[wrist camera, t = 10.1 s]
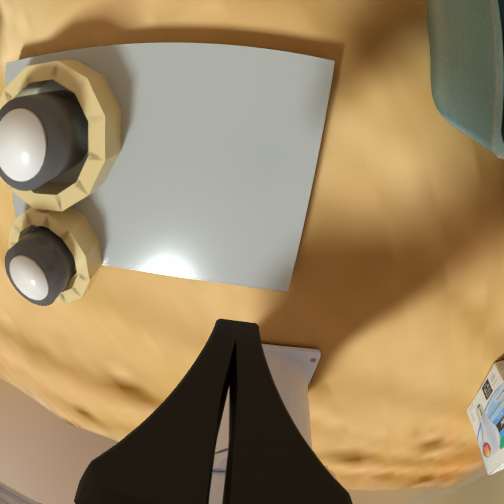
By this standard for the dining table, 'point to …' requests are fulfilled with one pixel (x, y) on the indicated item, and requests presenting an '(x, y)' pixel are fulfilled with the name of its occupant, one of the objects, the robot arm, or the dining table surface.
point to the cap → (41, 138)
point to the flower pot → (469, 67)
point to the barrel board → (172, 166)
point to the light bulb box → (490, 418)
